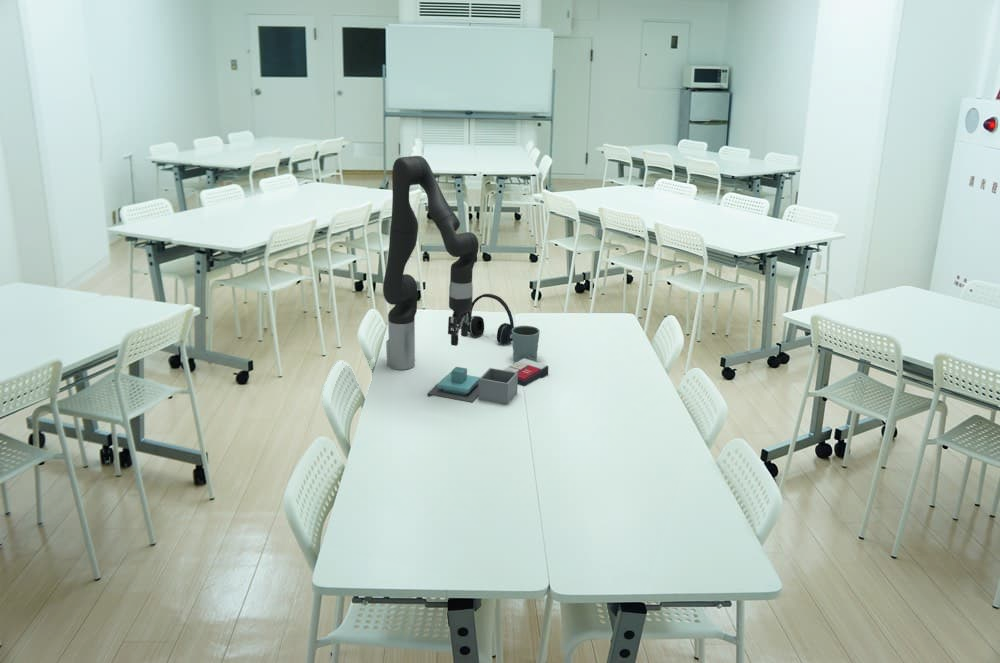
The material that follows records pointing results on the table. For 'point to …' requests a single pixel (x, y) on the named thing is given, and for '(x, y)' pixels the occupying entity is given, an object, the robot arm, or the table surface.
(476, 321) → the headphones
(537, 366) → the calculator
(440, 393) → the mat
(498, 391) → the box
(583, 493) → the table surface
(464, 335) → the robot arm
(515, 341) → the grey cup
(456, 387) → the lid
